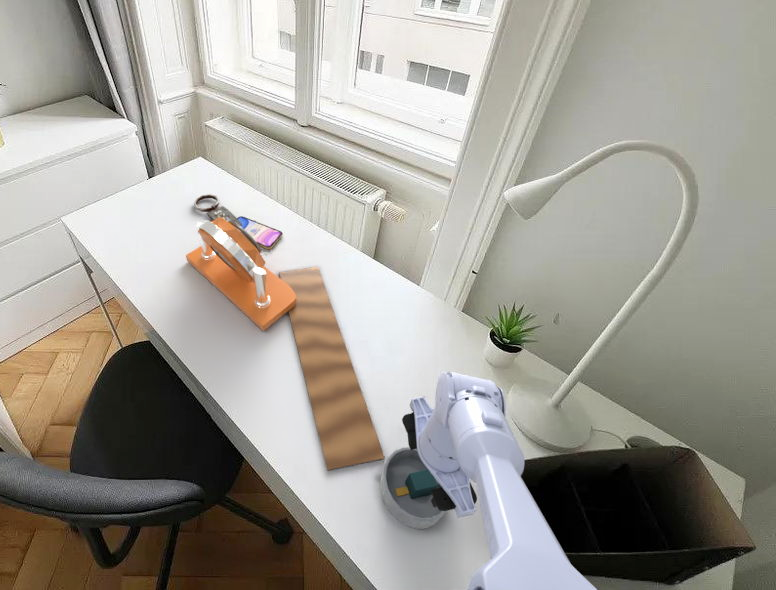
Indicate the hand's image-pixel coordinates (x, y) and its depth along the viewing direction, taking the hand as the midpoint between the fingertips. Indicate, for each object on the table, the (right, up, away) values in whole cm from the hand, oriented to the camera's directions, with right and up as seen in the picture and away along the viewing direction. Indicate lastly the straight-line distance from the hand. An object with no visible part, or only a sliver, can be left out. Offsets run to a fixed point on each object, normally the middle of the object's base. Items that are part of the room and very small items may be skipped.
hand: (426, 473), depth 61 cm
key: (0, -5, +4) cm, 6 cm away
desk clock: (-32, +22, +39) cm, 55 cm away
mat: (-13, +11, +24) cm, 30 cm away
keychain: (-40, +39, +59) cm, 82 cm away
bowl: (-1, -5, +4) cm, 7 cm away
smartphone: (-29, +34, +53) cm, 69 cm away
